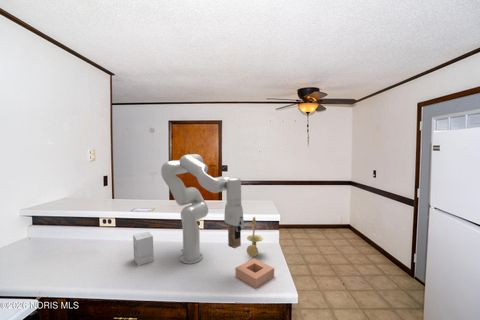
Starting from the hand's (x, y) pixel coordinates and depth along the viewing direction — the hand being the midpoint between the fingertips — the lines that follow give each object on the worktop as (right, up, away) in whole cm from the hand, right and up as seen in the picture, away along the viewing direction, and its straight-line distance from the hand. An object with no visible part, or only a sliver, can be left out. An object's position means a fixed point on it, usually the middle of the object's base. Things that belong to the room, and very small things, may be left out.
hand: (234, 236), depth 124 cm
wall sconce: (+11, -19, +20) cm, 29 cm away
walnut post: (0, -5, 0) cm, 5 cm away
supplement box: (-52, -19, +15) cm, 58 cm away
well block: (+10, -20, -1) cm, 23 cm away
